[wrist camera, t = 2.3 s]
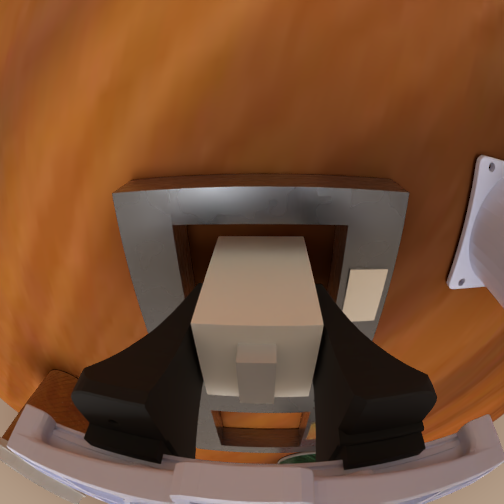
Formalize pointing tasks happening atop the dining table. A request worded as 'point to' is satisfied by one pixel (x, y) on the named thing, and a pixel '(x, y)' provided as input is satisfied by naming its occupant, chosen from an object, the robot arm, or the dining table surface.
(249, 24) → the dining table surface
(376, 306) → the panel
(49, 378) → the disposable coffee cup
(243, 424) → the dining table surface
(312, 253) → the dining table surface
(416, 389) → the robot arm
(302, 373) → the plug
